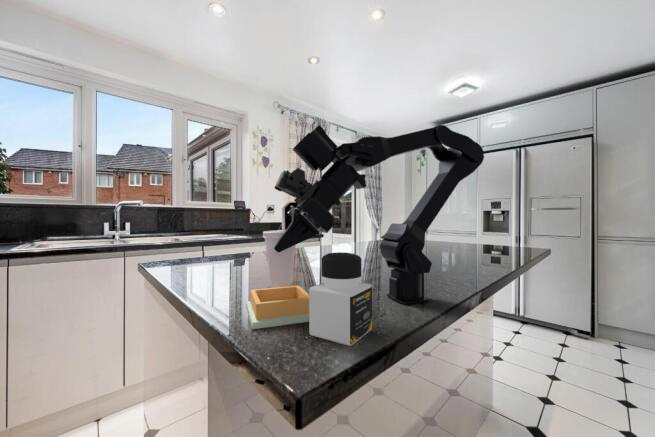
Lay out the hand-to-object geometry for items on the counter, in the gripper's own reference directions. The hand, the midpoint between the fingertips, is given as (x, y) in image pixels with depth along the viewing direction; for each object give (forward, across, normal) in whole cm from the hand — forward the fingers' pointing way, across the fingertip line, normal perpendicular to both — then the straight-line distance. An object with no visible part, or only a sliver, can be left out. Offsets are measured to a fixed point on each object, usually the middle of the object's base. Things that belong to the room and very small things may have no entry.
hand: (273, 248), depth 51 cm
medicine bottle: (+3, +12, +15) cm, 19 cm away
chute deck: (+4, 0, +12) cm, 13 cm away
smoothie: (+4, 0, +6) cm, 7 cm away
